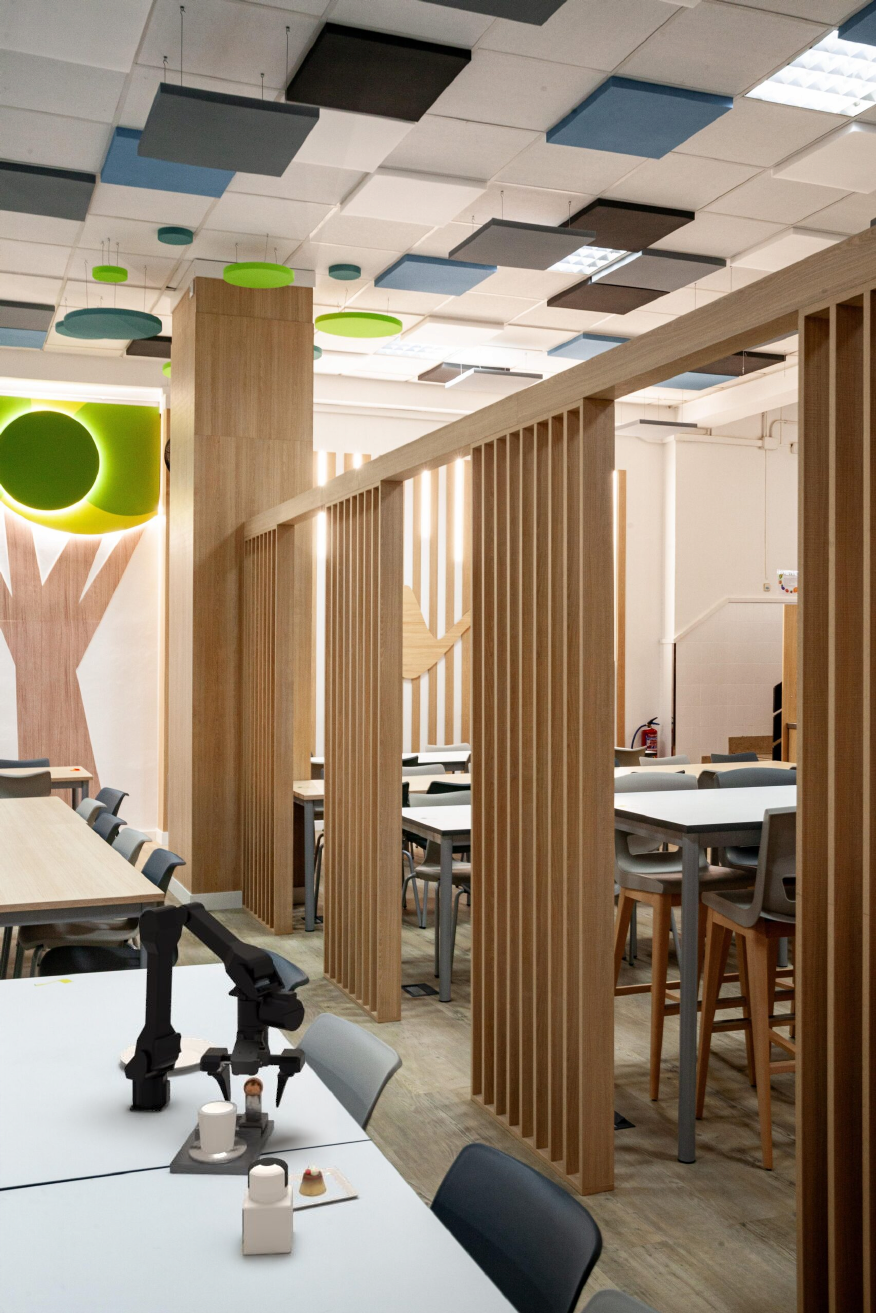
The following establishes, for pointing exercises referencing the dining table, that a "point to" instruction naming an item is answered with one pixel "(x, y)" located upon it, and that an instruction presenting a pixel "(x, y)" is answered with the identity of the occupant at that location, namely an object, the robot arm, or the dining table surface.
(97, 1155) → the dining table surface
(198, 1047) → the plate
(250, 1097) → the press lever
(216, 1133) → the white cup
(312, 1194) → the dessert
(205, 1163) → the base
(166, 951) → the robot arm
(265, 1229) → the medicine bottle
